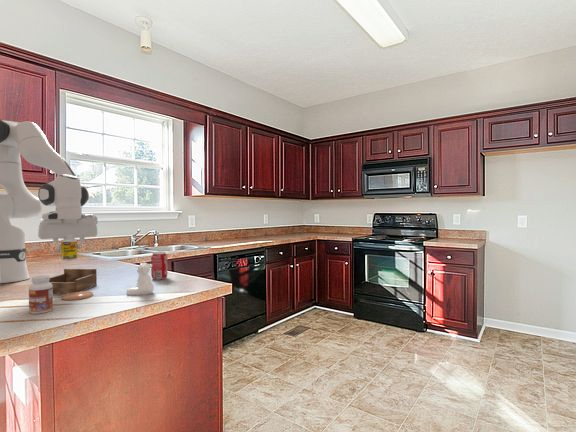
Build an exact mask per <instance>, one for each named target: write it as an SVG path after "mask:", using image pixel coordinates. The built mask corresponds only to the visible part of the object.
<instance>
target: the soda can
mask: <svg viewBox="0 0 576 432" xmlns="http://www.w3.org/2000/svg"><path fill="white" fill-rule="evenodd" d="M150 259H151V260H150V264H152V267H151V268H150V274H151V276H150V277H151V279H153V280H154V281H160V279H162V280H166V279H167V277H168V256H167V253H166V252H165V251H164V252H163V251H158V252H157V251H156V252H152V255H151V257H150Z"/></svg>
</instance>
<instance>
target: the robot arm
mask: <svg viewBox="0 0 576 432" xmlns="http://www.w3.org/2000/svg"><path fill="white" fill-rule="evenodd" d="M21 156H22V158H23V159H24V160H25V161H26V162H28V163H29V164H31V165H34V166H37V167H39V168H40V167H41V168H44V169H46V170H49V171H50V172H51V171H52V172H53V173H55V174H56V178H55V179H54V180H52V181H50V182H47V183H44V184H42V185H41V186H40V188H39V189H38V193H37V194H38V196H36V195H34V194H32V192H31V191H30V190H29V188H27V186H26V184H25V182H24V177H23V169H22V168H23V167H22V159H21ZM76 175H77V174H75V173H74V171H73V169H72V168H71V166H70V165H69V163H68V162H67V160H65V158H64V156H62V155H60V154H59V153H57V152H56V151H55V149H54V148H53V147H52V145H51V144H50V143H49V141H48V139H47V137H46V135H45V133H44V131H43V130H42V129H41V128H40V126H39V125H38V124H37V123H34V122H32V121H28V120H27V121H21V122H20V121H12V120H3V119H0V187H1V188H3V189H4V190H5V191H6V193H7V194H0V284H6V283H14V282H15V283H16V282H21V281H25V280H28V279H31V277H30V274H29V271H28V266H27V261H26V260H27V259H26V258H27V248H26V243H25V242H26V238H25V237H26V236H25V232H24V231H23V229H22V228H20V227H17V226H14V225H12V223H11V221H10V219H13V220H14V219H30V218H35V217H38V216H39V215H40V213H41V212H42V210H43V205H44V206H45V207H46V206H47V207H55V209H54V210H53V211H50V212H45V213H42V215H41V219H42V220H41V221H40V222H39V225H38V232H37V233H38V234H37V236H38V238H39V239H41V240H52V241H53V243H54V244H55V246H56V247H55V248H56V250H57V251H59V250H60V251H61V250H62V248H61V247H62V245H61V244H59V243H58V242H59V239H63V238H67V236H68V235H73V237H74V239H77V238H79V240H80V241H79V242H78V243H77V250H78V249H82V246H83V245H82V244H83V243H84V242H85V238H92V237H93V238H94V237H97V236H98V227H97V224H98V217H97V216H96V215H94V214H82V209H83V206H85V205H86V204H87V203H88V200H89V197H90V195H89V190H87V188H86V186H84V184H82V183H81V181H80V178H79V177H78V176H76Z"/></svg>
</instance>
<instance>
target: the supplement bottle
mask: <svg viewBox="0 0 576 432" xmlns="http://www.w3.org/2000/svg"><path fill="white" fill-rule="evenodd" d="M77 244H78V240H77V238H74V237H73V235H68V236H67V238H62V239H61V241H60V245H62V247H61V248H62V250H60V256H61V257H60V259H61V260H62V261H76V260H78V249H77Z"/></svg>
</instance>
